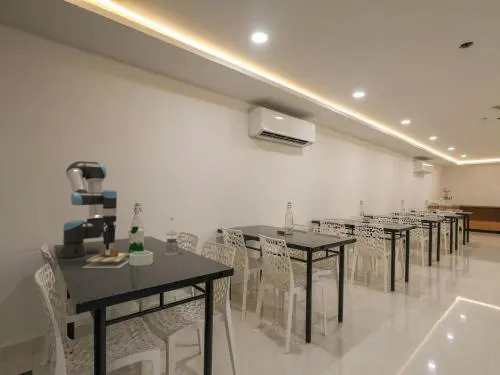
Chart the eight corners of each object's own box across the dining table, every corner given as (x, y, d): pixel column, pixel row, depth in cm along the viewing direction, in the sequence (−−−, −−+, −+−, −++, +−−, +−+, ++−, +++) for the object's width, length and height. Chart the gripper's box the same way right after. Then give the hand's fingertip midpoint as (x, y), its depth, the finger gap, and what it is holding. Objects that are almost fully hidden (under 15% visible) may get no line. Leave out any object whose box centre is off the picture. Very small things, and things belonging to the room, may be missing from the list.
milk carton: (126, 257, 191) (126, 227, 191) (133, 254, 200) (133, 225, 200) (139, 258, 190) (139, 227, 190) (145, 255, 199) (146, 225, 199)
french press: (166, 251, 210) (167, 216, 210) (183, 252, 210) (183, 217, 210) (162, 254, 200) (162, 218, 200) (179, 255, 200) (179, 218, 200)
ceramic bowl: (126, 266, 171) (126, 256, 171) (134, 260, 184) (134, 251, 184) (148, 266, 171) (148, 256, 171) (155, 260, 184) (155, 251, 184)
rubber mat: (82, 268, 166) (82, 267, 166) (99, 259, 187) (99, 258, 187) (119, 268, 167) (119, 267, 167) (133, 259, 188) (133, 258, 188)
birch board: (86, 261, 168) (86, 252, 168) (100, 254, 186) (101, 245, 186) (118, 261, 169) (118, 252, 168) (129, 254, 187) (129, 246, 186)
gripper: (110, 216, 169) (109, 257, 170) (121, 214, 185) (120, 251, 185) (96, 216, 169) (96, 257, 169) (108, 214, 185) (108, 251, 185)
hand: (109, 254), depth 177 cm, fingers closed on birch board, 2 cm apart
